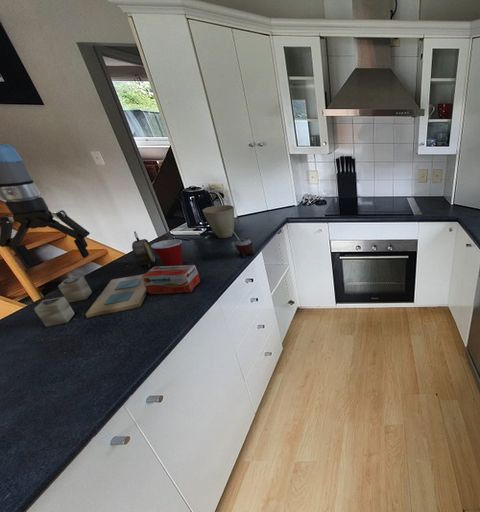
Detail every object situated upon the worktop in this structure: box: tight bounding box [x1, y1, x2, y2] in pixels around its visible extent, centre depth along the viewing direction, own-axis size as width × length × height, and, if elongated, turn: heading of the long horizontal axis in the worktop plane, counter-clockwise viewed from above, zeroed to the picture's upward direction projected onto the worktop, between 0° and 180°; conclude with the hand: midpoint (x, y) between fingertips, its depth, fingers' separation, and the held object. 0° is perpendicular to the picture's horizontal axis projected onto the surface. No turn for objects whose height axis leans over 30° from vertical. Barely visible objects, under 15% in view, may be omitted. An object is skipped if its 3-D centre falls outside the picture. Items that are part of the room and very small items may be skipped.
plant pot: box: [201, 204, 235, 239], centre depth 150 cm, size 15×15×16 cm
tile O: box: [57, 276, 93, 304], centre depth 98 cm, size 5×5×7 cm
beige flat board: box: [85, 273, 148, 319], centre depth 102 cm, size 14×24×2 cm, turn 26°
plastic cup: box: [150, 239, 184, 266], centre depth 118 cm, size 11×11×12 cm
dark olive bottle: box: [131, 230, 156, 270], centre depth 118 cm, size 11×5×16 cm, turn 32°
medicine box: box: [141, 264, 201, 295], centre depth 104 cm, size 15×8×8 cm, turn 98°
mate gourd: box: [227, 229, 254, 259], centre depth 129 cm, size 8×8×15 cm
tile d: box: [33, 296, 75, 328], centre depth 87 cm, size 5×5×7 cm
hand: (59, 260), depth 93 cm, fingers open, 13 cm apart
